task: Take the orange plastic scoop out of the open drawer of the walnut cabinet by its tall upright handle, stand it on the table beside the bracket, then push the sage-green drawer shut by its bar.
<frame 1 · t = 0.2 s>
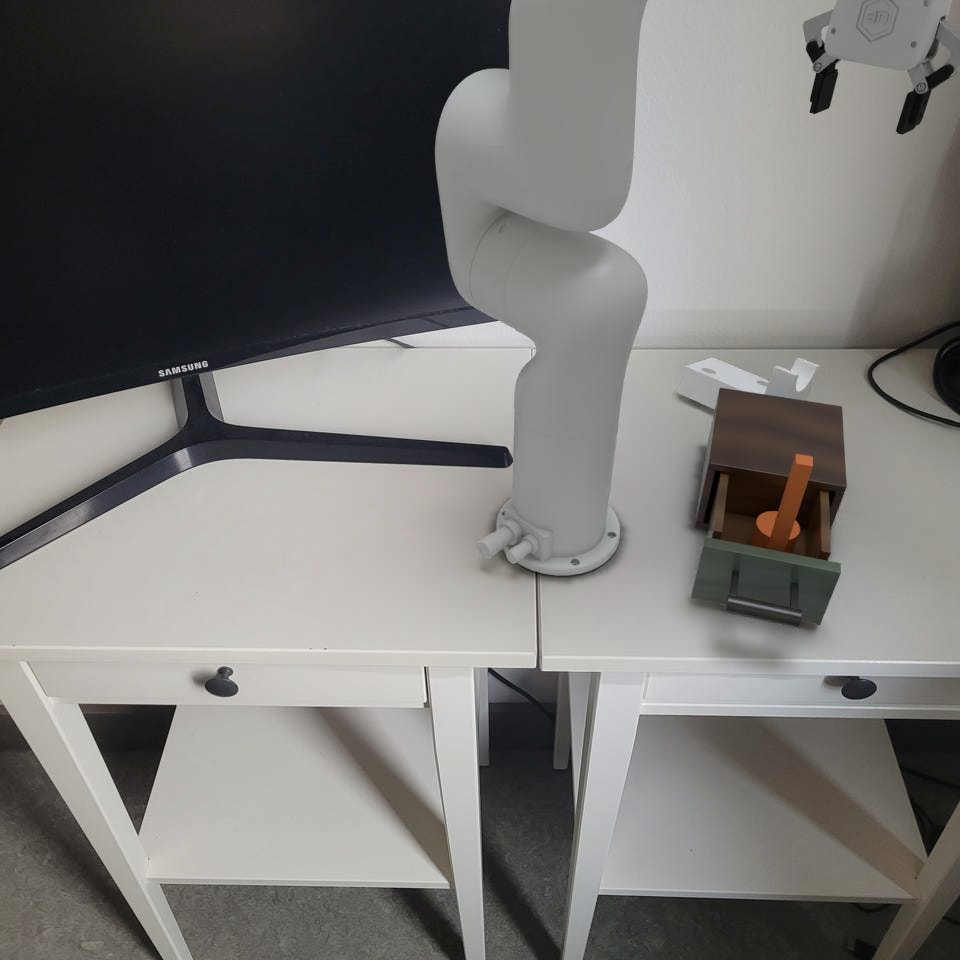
hand: (860, 120, 87), 31 cm above the table, tool pointing down, fingers open, 9 cm apart
drawer: (764, 555, 75), point 4 cm above the table, slide at 9.5 cm, touching scoop
scoop: (770, 554, 78), point 2 cm above the table, touching drawer
bracket: (740, 405, 101), on the table
cabinet: (760, 497, 88), on the table
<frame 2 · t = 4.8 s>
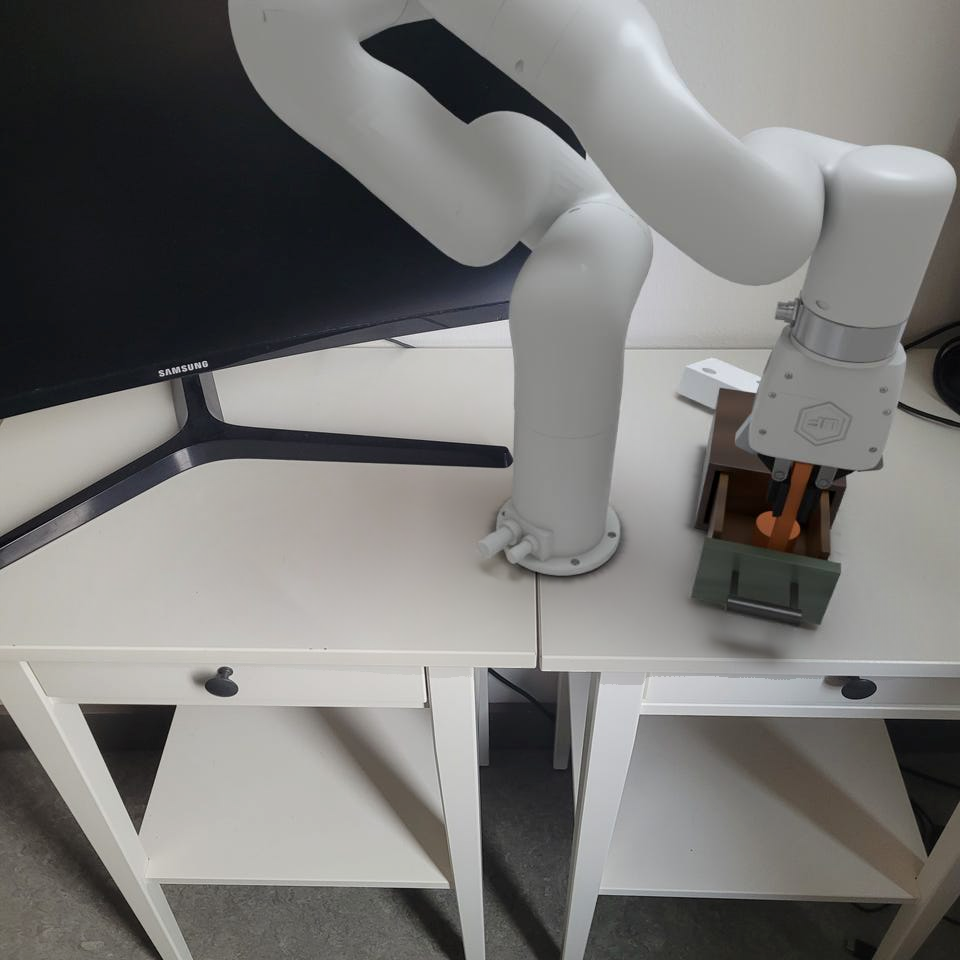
hand: (788, 508, 72), 9 cm above the table, tool pointing down, fingers closed on scoop
scoop: (770, 554, 78), point 2 cm above the table, touching drawer, gripper
everything else where it was.
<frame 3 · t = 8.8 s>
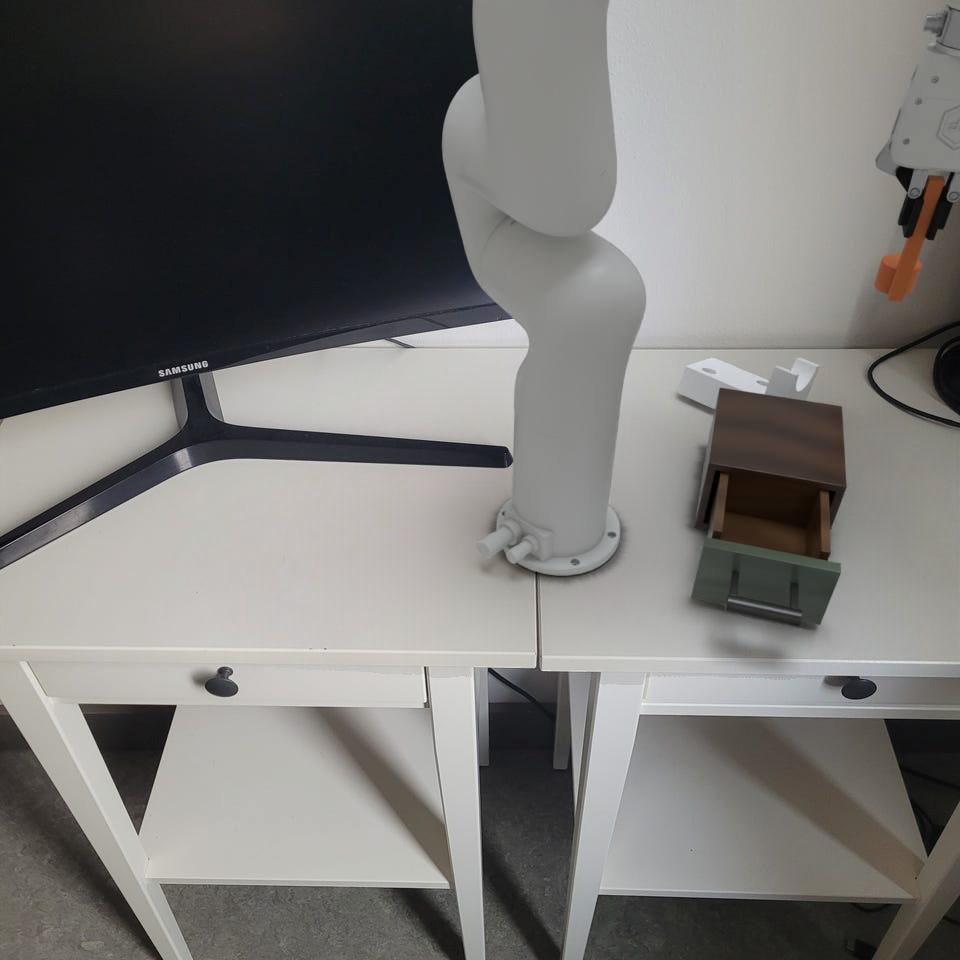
hand: (917, 232, 83), 24 cm above the table, tool pointing down, fingers closed on scoop
drawer: (764, 555, 75), point 4 cm above the table, slide at 9.5 cm
scoop: (893, 291, 89), point 16 cm above the table, touching gripper
everything else where it was.
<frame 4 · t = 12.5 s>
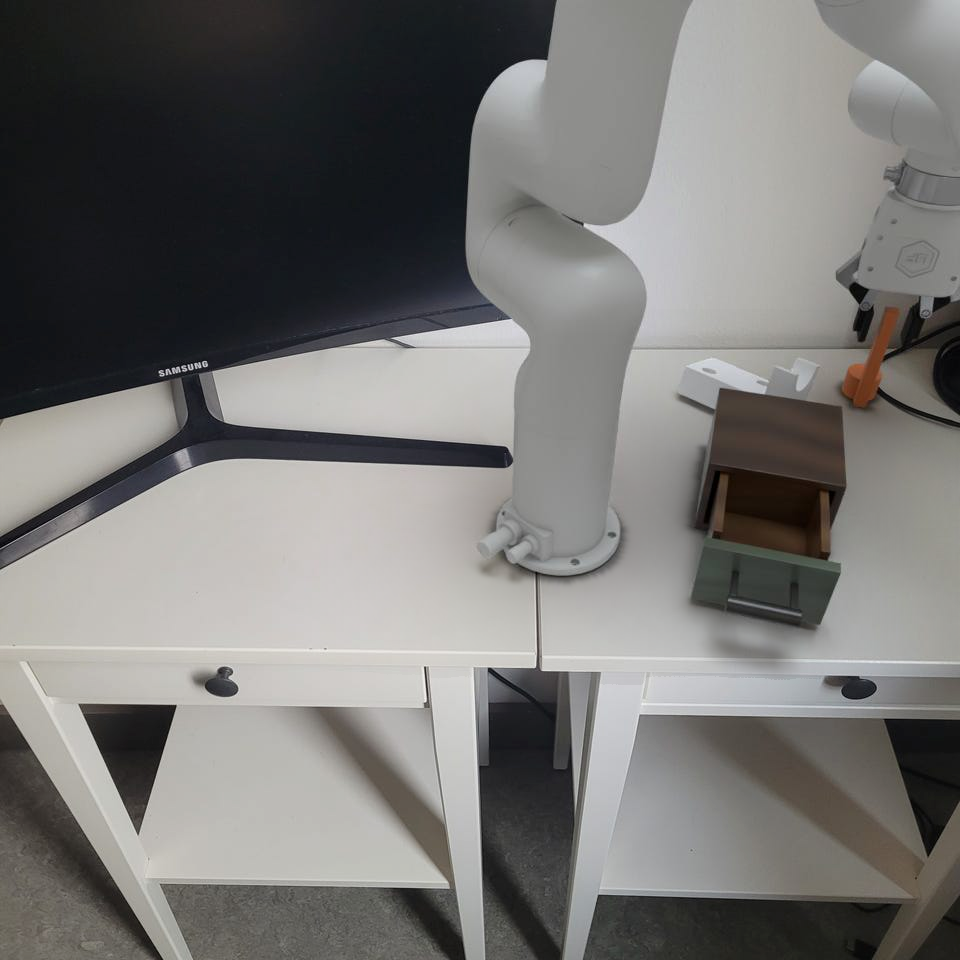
hand: (882, 338, 95), 9 cm above the table, tool pointing down, fingers open, 4 cm apart
scoop: (858, 396, 102), on the table
everything else where it was.
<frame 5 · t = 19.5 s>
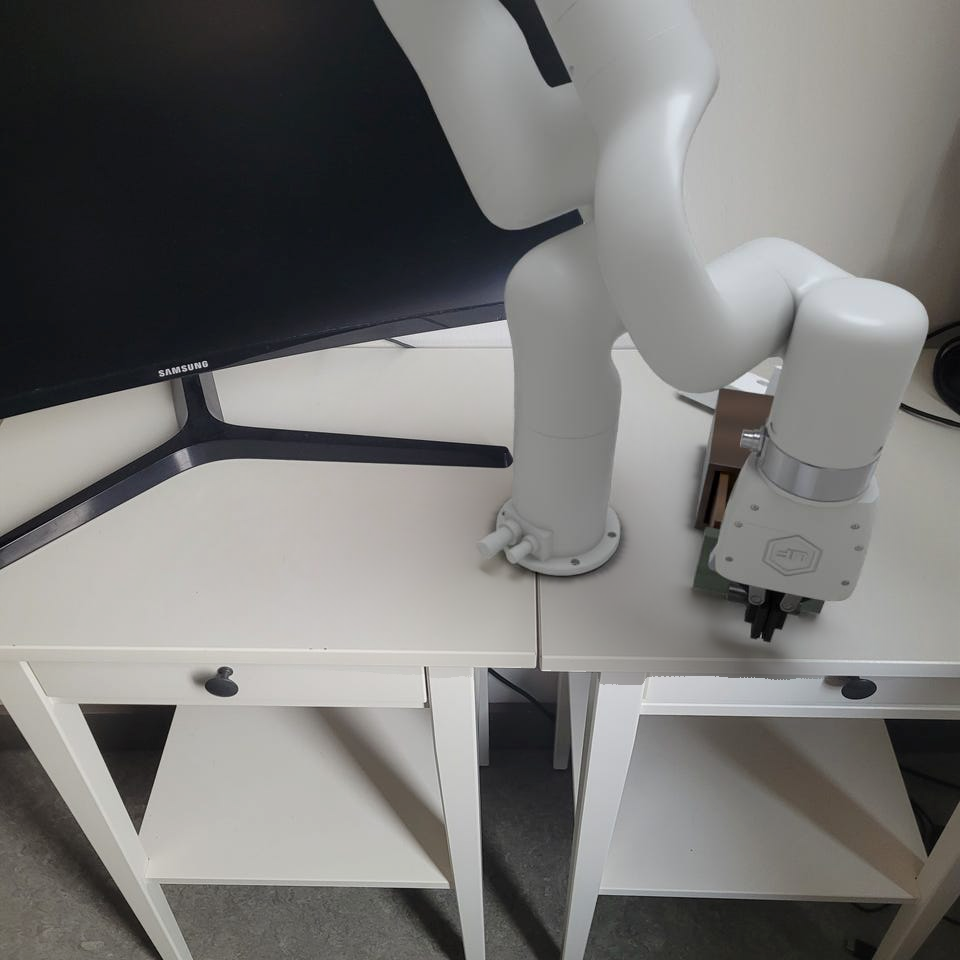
hand: (760, 627, 68), 4 cm above the table, tool pointing down, fingers closed
drawer: (764, 545, 76), point 4 cm above the table, slide at 8.2 cm
everything else where it was.
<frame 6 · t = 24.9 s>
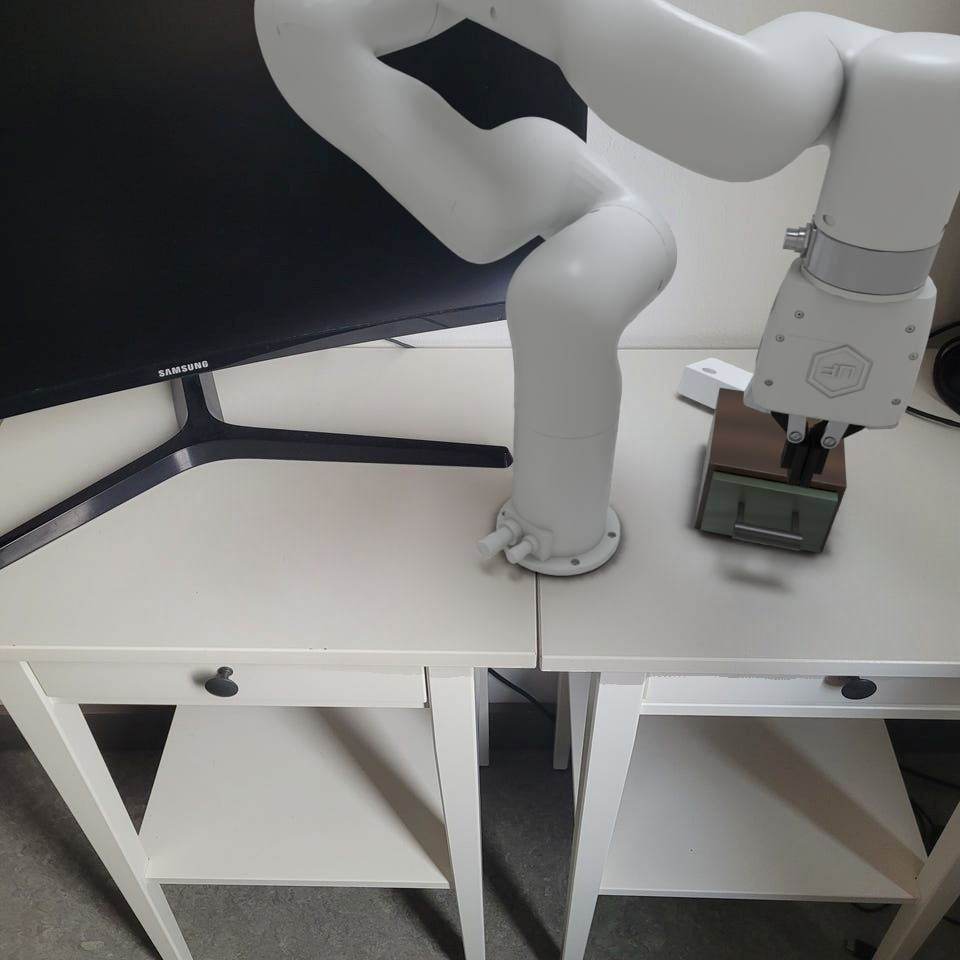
hand: (797, 475, 64), 17 cm above the table, tool pointing down, fingers closed
drawer: (767, 490, 82), point 4 cm above the table, slide at 0.0 cm, touching cabinet
everything else where it was.
at the end: scoop inside the target area on the table beside the bracket (0.5 cm from its centre), on the table; the gripper is holding nothing; drawer slide at 0.0 cm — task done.
